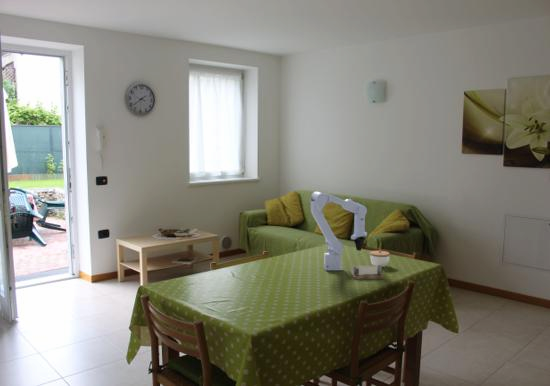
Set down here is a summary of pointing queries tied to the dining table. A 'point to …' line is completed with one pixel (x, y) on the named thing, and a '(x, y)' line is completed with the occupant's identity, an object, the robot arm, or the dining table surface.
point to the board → (364, 275)
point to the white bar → (368, 269)
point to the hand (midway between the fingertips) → (358, 250)
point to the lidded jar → (379, 258)
